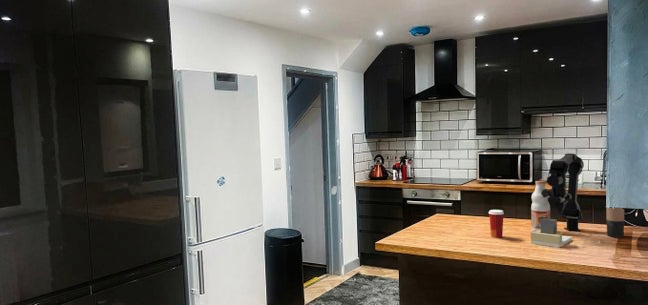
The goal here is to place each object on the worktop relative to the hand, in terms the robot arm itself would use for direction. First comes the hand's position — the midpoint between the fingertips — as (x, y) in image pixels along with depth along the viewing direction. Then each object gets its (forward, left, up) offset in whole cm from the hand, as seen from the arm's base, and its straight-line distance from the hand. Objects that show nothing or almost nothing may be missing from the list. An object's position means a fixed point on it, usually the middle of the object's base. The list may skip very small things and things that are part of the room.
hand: (559, 214), depth 228 cm
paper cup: (-2, -32, -12) cm, 34 cm away
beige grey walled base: (+10, -8, -12) cm, 18 cm away
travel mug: (0, +27, -12) cm, 30 cm away
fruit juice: (-13, -5, -12) cm, 18 cm away
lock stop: (+13, -11, -10) cm, 19 cm away
